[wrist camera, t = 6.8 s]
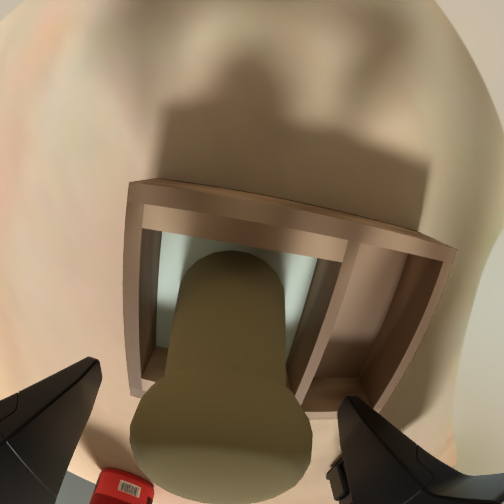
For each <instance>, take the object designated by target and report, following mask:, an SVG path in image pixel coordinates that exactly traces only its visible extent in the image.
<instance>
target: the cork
mask: <svg viewBox="0 0 504 504" xmlns="http://www.w3.org/2000/svg"><path fill="white" fill-rule="evenodd" d="M312 434H313V433H312V430H311V426H310V422H309V418H308V417H307V415H306V413H305V412H304V410H303V409H302V407H301V405H300V404H299V402H298V401H297V399H296V398H295V396H294V394H293V393H292V391H291V390H289V389H288V388H287V387H286V325H285V295H284V287H283V285H282V283H281V281H280V279H279V276H278V274H277V273H276V272H275V271H274V270H273V269H272V268H271V267H270V266H269V265H268V264H267V263H266V262H265V261H264V260H262V259H260V258H258V257H256V256H254V255H252V254H250V253H245V252H239V251H234V250H229V251H221V252H214V253H212V254H209V255H207V256H205V257H203V258H201V259H199V260H197V261H196V262H195V263H194V264H193V265H192V266H191V267H190V268H189V269H188V270H187V271H186V273H185V275H184V277H183V279H182V282H181V284H180V286H179V292H178V297H177V302H176V307H175V313H174V318H173V324H172V330H171V336H170V342H169V349H168V355H167V362H166V369H165V376H164V377H162V378H161V379H160V380H158V381H157V382H156V383H154V384H153V385H152V386H151V387H150V388H149V389H148V391H147V392H146V393H145V394H144V395H143V396H142V398H141V400H140V403H139V405H138V407H137V409H136V412H135V414H134V417H133V419H132V422H131V425H130V444H131V448H132V451H133V455H134V457H135V460H136V462H137V465H138V468H139V469H140V470H141V471H142V472H143V473H144V474H145V475H146V476H147V477H148V478H149V479H150V480H151V481H152V482H154V483H155V484H156V485H158V486H159V487H161V488H163V489H164V490H166V491H168V492H170V493H172V494H175V495H177V496H180V497H183V498H185V499H189V500H193V501H198V502H202V503H209V504H250V503H257V502H261V501H265V500H268V499H271V498H274V497H276V496H278V495H280V494H282V493H283V492H285V491H287V490H289V489H290V488H292V487H294V486H295V485H296V484H297V483H298V482H299V481H300V479H301V478H302V477H303V475H304V474H305V472H306V470H307V468H308V466H309V464H310V462H311V451H312Z"/></svg>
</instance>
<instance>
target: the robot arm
mask: <svg viewBox="0 0 504 504" xmlns="http://www.w3.org/2000/svg"><path fill="white" fill-rule="evenodd" d="M101 381H102V372H101V367H100V362H99V360H98V359H95V358H92V357H86V358H84V359H82V360H81V361H79V362H77V363H75V364H73V365H71V366H69V367H67V368H65V369H63V370H61V371H59V372H57V373H55V374H53V375H51V376H49V377H47V378H45V379H43V380H41V381H39V382H37V383H35V384H33V385H31V386H29V387H27V388H25V389H23V390H21V391H19V393H15V394H13V395H11V396H9V397H7V398H5V399H3V400H0V504H55V502H56V499H57V495H58V493H59V490H60V487H61V484H62V481H63V479H64V476H65V474H66V471H67V468H68V466H69V463H70V461H71V458H72V456H73V453H74V451H75V449H76V446H77V444H78V442H79V439H80V437H81V435H82V432H83V430H84V428H85V426H86V423H87V421H88V419H89V417H90V414H91V411H92V409H93V405H94V402H95V399H96V396H97V393H98V390H99V387H100V384H101ZM337 418H338V427H339V437H340V446H341V451H342V456H343V457H342V459H341V460H340V461H339V462H338V463H337V464H336V465H335V467H334V468H333V469H332V470H331V471H330V472H329V473H328V474H327V476H326V479H327V480H330V484H331V488H332V492H333V496H334V500H336V501H339V504H504V473H501V474H492V475H480V476H469V475H465V474H462V473H460V472H458V471H457V470H455V469H453V468H451V467H450V466H448V465H446V464H445V463H443V462H441V461H440V460H438V459H437V458H435V457H434V456H432V455H431V454H429V453H428V452H426V451H425V450H424V449H422V448H421V447H420V446H419V445H417V444H416V443H415V442H413V441H412V440H411V439H410V438H408V437H407V436H406V435H404V434H403V433H402V432H401V431H399V430H398V429H397V428H396V427H394V426H393V425H392V424H391V423H390V422H388V421H387V420H386V419H385V418H383V417H382V416H381V415H380V414H379V413H377V412H376V411H375V410H374V409H372V408H371V407H370V406H369V405H368V404H366V403H365V402H364V401H363V400H362V399H360V398H359V397H358V396H356V395H347V396H346V397H345V398H344V399H343V401H342V403H341V405H340V406H339V408H338V411H337Z"/></svg>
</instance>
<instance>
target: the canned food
mask: <svg viewBox="0 0 504 504" xmlns="http://www.w3.org/2000/svg"><path fill="white" fill-rule="evenodd" d="M153 497H154V489H153V486H152V485H151V484H150V483H149V482H147V481H146V480H144V479H142V478H140V477H138V476H136V475H133V474H131V473H128V472H125V471H122V470H118V469H113V468H105V469H103V471H102V472H101V473H100V475H99V477H98V480H97V483H96V486H95V489H94V492H93V495H92V498H91V501H90V504H152V502H153Z"/></svg>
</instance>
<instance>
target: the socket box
mask: <svg viewBox="0 0 504 504" xmlns="http://www.w3.org/2000/svg"><path fill="white" fill-rule="evenodd" d="M229 250H234V251H239V252H245V253H250V254H252V255H254V256H256V257H258V258H260V259H262V260H264V261H265V262H266V263H267V264H268V265H269V266H270V267H271V268H272V269H273V270H274V271H275V272H276V273H277V274H278V276H279V279H280V281H281V283H282V285H283V287H284V295H285V325H286V387H287V388H288V389H289V390H291V391H292V393H293V394H294V396H295V398H296V399H297V401H298V402H299V404H300V405H301V407H302V409H303V410H304V412H305V413H306V415H307V417H308V418H309V420H321V419H338V418H337V411H338V408H339V406H340V405H341V403H342V401H343V399H344V398H345V397H346V396H347V395H356V396H358V397H359V398H360V399H362V400H363V401H364V402H365V403H366V404H368V405H369V406H370V407H371V408H372V409H374V410H375V411H376V412H377V413H379V412H380V411H381V409H382V408H383V406H384V405H385V403H386V402H387V400H388V399H389V397H390V396H391V394H392V392H393V391H394V389H395V388H396V386H397V384H398V383H399V381H400V379H401V378H402V376H403V374H404V372H405V371H406V369H407V367H408V365H409V363H410V362H411V360H412V358H413V356H414V354H415V352H416V350H417V348H418V346H419V344H420V342H421V340H422V338H423V336H424V334H425V332H426V330H427V328H428V326H429V323H430V321H431V319H432V317H433V314H434V312H435V310H436V307H437V305H438V302H439V300H440V297H441V295H442V292H443V290H444V287H445V284H446V281H447V279H448V276H449V273H450V270H451V267H452V264H453V261H454V258H455V254H456V251H457V249H455V248H452V247H450V246H448V245H446V244H444V243H442V242H440V241H438V240H435V239H433V238H431V237H429V236H426V235H424V234H422V233H420V232H417V231H414V230H410V229H407V228H403V227H399V226H396V225H392V224H388V223H385V222H381V221H377V220H373V219H369V218H365V217H361V216H357V215H353V214H349V213H345V212H341V211H337V210H332V209H328V208H324V207H319V206H315V205H310V204H306V203H301V202H296V201H291V200H286V199H282V198H277V197H271V196H266V195H261V194H256V193H250V192H245V191H239V190H233V189H227V188H221V187H215V186H209V185H203V184H196V183H189V182H182V181H175V180H168V179H160V178H156V179H148V180H141V181H134V182H129V188H128V197H127V207H126V219H125V233H124V252H123V316H124V335H125V349H126V360H127V370H128V379H129V387H130V394H131V396H134V397H138V398H142V396H143V395H144V394H145V393H146V392H147V391H148V389H149V388H150V387H151V386H152V385H153V384H154V383H156V382H157V381H158V380H160V379H161V378H162V377H164V376H165V369H166V362H167V355H168V349H169V342H170V336H171V330H172V324H173V318H174V313H175V307H176V302H177V297H178V292H179V286H180V284H181V282H182V279H183V277H184V275H185V273H186V271H187V270H188V269H189V268H190V267H191V266H192V265H193V264H194V263H195V262H196V261H197V260H199V259H201V258H203V257H205V256H207V255H209V254H212V253H214V252H221V251H229Z"/></svg>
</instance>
